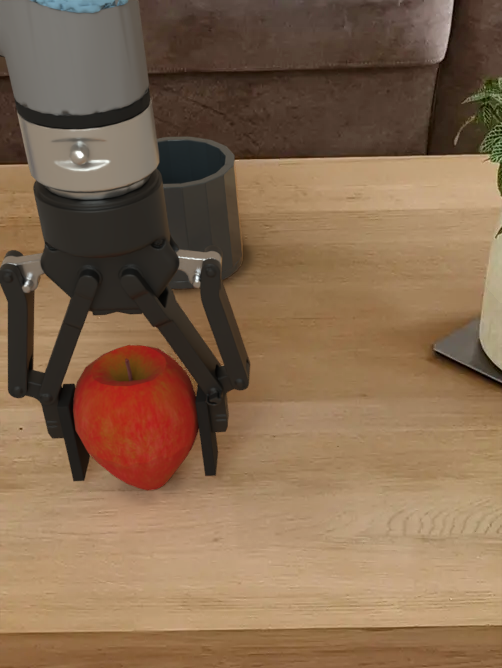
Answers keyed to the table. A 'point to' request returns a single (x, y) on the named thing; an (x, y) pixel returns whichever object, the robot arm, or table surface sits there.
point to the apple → (136, 414)
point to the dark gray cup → (201, 200)
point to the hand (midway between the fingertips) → (146, 466)
